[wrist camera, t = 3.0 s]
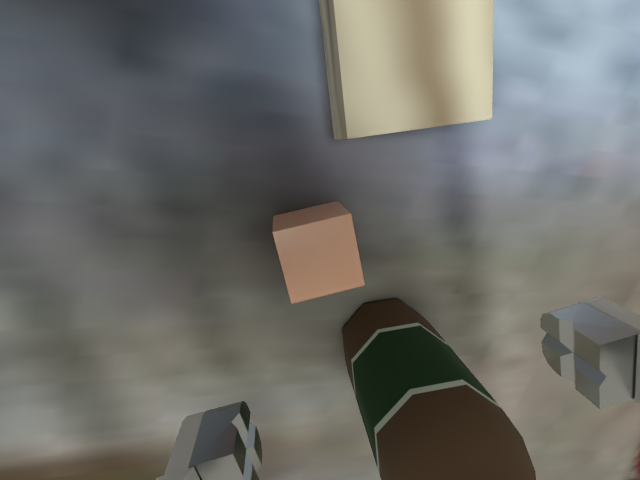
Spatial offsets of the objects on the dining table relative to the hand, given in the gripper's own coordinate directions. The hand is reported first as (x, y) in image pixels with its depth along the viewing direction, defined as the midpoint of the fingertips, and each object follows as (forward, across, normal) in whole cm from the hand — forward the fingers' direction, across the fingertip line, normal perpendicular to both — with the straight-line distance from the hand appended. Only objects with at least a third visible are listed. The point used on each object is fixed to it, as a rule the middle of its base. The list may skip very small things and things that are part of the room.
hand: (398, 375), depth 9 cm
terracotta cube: (+18, +1, +1) cm, 18 cm away
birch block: (+18, -7, -10) cm, 22 cm away
